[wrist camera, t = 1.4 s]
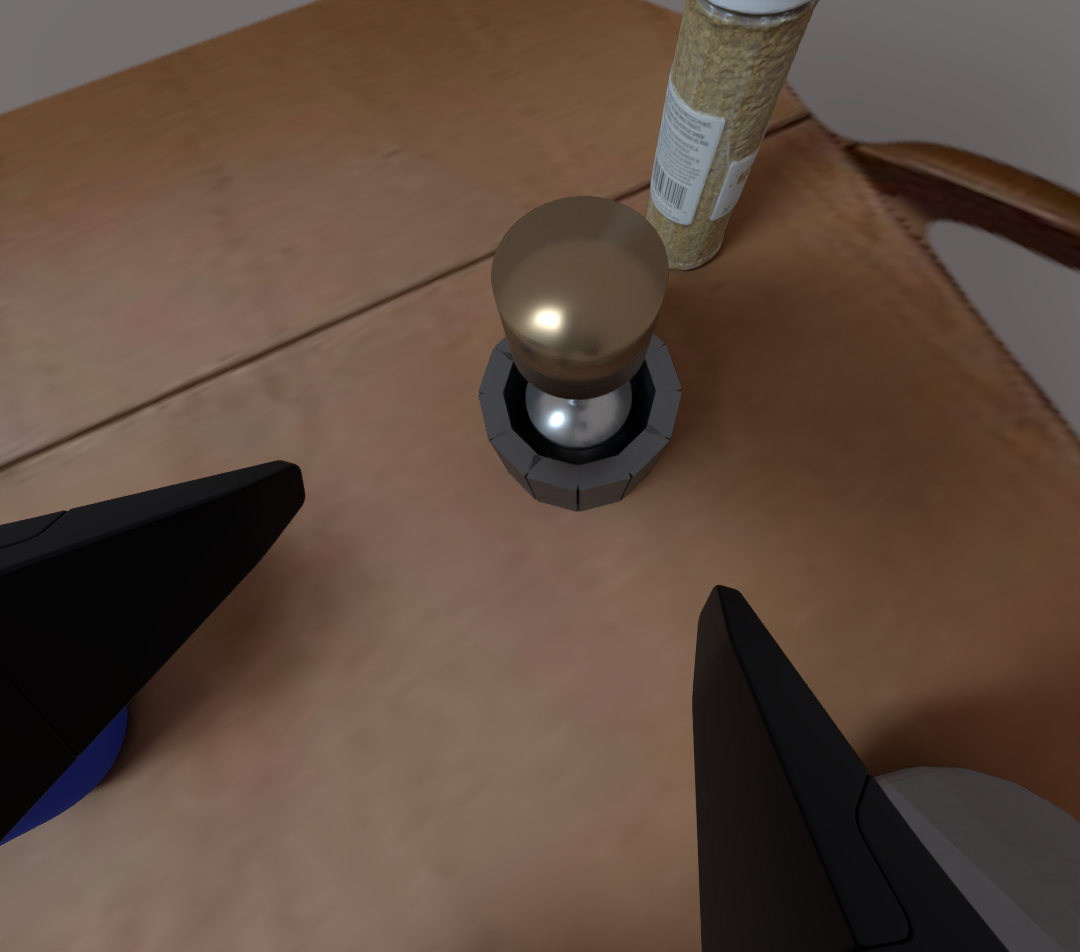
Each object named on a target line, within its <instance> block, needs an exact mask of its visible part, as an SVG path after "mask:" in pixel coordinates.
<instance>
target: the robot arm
mask: <svg viewBox="0 0 1080 952" xmlns="http://www.w3.org/2000/svg"><path fill="white" fill-rule="evenodd" d="M304 501H305V490H304V484H303V479H302V473H301V469H300V468H299V466H298V465H296V464H293V463H290V462H286V461H282V460H277V461H273V462H269V463H264V464H260V465H256V466H252V467H247V468H243V469H239V470H234V471H230V472H226V473H222V474H217V475H213V476H209V477H205V478H200V479H196V480H192V481H188V482H183V483H179V484H175V485H171V486H166V487H162V488H158V489H154V490H149V491H145V492H141V493H137V494H132V495H128V496H124V497H120V498H115V499H111V500H107V501H103V502H98V503H94V504H90V505H86V506H81V507H77V508H73V509H70V510H69V511H60V512H55V513H51V514H47V515H43V516H39V517H34V518H30V519H25V520H21V521H16V522H12V523H7V524H3V525H0V842H1V841H2V840H3V839H4V838H5V837H6V835H7V834H8V833H9V832H10V831H11V830H12V829H13V828H14V827H15V826H16V825H17V824H18V823H19V821H20V820H21V819H22V818H23V817H24V816H25V815H26V814H27V813H28V812H29V811H30V810H31V808H32V807H33V806H34V805H35V804H36V803H37V802H38V801H39V800H40V799H41V798H42V797H43V795H44V794H45V793H46V792H47V791H48V790H49V789H50V788H51V787H52V786H53V785H54V784H55V783H56V781H57V780H58V779H59V778H60V777H61V776H62V775H63V774H64V773H65V772H66V771H67V770H68V768H69V767H70V766H71V765H72V764H73V763H74V762H75V761H76V760H77V759H78V756H79V755H81V754H82V753H83V752H84V751H85V750H86V749H87V747H88V746H89V745H90V744H91V743H92V742H93V741H94V740H95V739H96V738H97V737H98V736H99V735H100V733H101V732H102V731H103V730H104V729H105V728H106V727H107V726H108V725H109V724H110V723H111V722H112V720H113V719H114V718H115V717H116V716H117V715H118V714H119V713H120V712H121V711H122V710H123V709H124V708H125V706H126V705H127V704H128V703H129V702H130V701H131V700H132V699H133V698H134V697H135V696H136V695H137V693H138V692H139V691H140V690H141V689H142V688H143V687H144V686H145V685H146V684H147V683H148V682H149V681H150V679H151V678H152V677H153V676H154V675H155V674H156V673H157V672H158V671H159V670H160V669H161V668H162V666H163V665H164V664H165V663H166V662H167V661H168V660H169V659H170V658H171V657H172V656H173V655H174V654H175V652H176V651H177V650H178V649H179V648H180V647H181V646H182V645H183V644H184V643H185V642H186V641H187V639H188V638H189V637H190V636H191V635H192V634H193V633H194V632H195V631H196V630H197V629H198V628H199V627H200V625H201V624H202V623H203V622H204V621H205V620H206V619H207V618H208V617H209V616H210V615H211V614H212V612H213V611H214V610H215V609H216V608H217V607H218V606H219V605H220V604H221V603H222V602H223V601H224V600H225V598H226V597H227V596H228V595H229V594H230V593H231V592H232V591H233V590H234V589H235V588H236V587H237V585H238V584H239V583H240V582H241V581H242V580H243V579H244V578H245V577H246V576H247V575H248V574H249V573H250V571H251V570H252V569H253V568H254V567H255V566H256V565H257V564H258V563H259V561H260V560H261V559H262V558H263V557H264V555H265V554H266V553H267V552H268V550H269V549H270V548H271V546H272V545H273V544H274V542H275V541H276V540H277V539H278V537H279V536H280V535H281V533H282V532H283V531H284V529H285V528H286V527H287V525H288V524H289V523H290V521H291V520H292V519H293V517H294V516H295V515H296V513H297V512H298V511H299V510H300V508H301V507H302V505H303V503H304ZM692 712H693V738H694V763H695V789H696V814H697V840H698V866H699V891H700V917H701V942H702V952H1010V951H1009V950H1008V949H1007V948H1006V947H1005V945H1004V944H1003V943H1002V942H1001V940H1000V939H999V938H998V937H997V936H996V934H995V933H994V932H993V931H992V929H991V928H990V927H989V926H988V925H987V923H986V922H985V921H984V920H983V918H982V917H981V916H980V915H979V913H978V912H977V911H976V910H975V909H974V907H973V906H972V905H971V904H970V902H969V901H968V900H967V899H966V898H965V896H964V895H963V894H962V893H961V891H960V890H959V889H958V888H957V886H956V885H955V884H954V883H953V881H952V880H951V879H950V877H949V876H948V875H947V874H946V872H945V871H944V870H943V869H942V867H941V866H940V865H939V864H938V862H937V861H936V860H935V859H934V857H933V856H932V855H931V854H930V852H929V851H928V850H927V848H926V847H925V846H924V845H923V843H922V842H921V841H920V839H919V838H918V837H917V835H916V834H915V833H914V831H913V830H912V829H911V827H910V826H909V825H908V823H907V822H906V821H905V819H904V818H903V817H902V815H901V814H900V813H899V811H898V810H897V809H896V807H895V806H894V805H893V803H892V802H891V800H890V799H889V798H888V796H887V795H886V794H885V792H884V791H883V789H882V788H881V787H880V785H879V784H878V782H877V781H876V780H875V778H874V777H873V776H872V775H868V769H867V767H866V766H865V765H864V763H863V762H862V761H861V759H860V758H859V756H858V755H857V754H856V752H855V751H854V749H853V748H852V747H851V745H850V744H849V742H848V741H847V740H846V738H845V737H844V736H843V734H842V733H841V731H840V730H839V729H838V727H837V726H836V724H835V723H834V722H833V720H832V719H831V717H830V716H829V715H828V713H827V712H826V711H825V709H824V708H823V706H822V705H821V704H820V702H819V701H818V699H817V698H816V697H815V695H814V694H813V693H812V691H811V690H810V688H809V687H808V686H807V684H806V683H805V681H804V680H803V679H802V677H801V676H800V674H799V673H798V672H797V670H796V669H795V668H794V666H793V665H792V663H791V662H790V661H789V659H788V658H787V656H786V655H785V654H784V652H783V651H782V649H781V648H780V647H779V645H778V644H777V643H776V641H775V640H774V638H773V637H772V636H771V634H770V633H769V631H768V630H767V629H766V627H765V626H764V625H763V623H762V622H761V620H760V619H759V618H758V616H757V615H756V613H755V612H754V611H753V609H752V608H751V606H750V605H749V604H748V602H747V601H746V600H745V598H744V597H743V595H742V594H741V593H740V592H739V591H738V590H736V589H733V588H729V587H726V586H722V585H716V586H715V587H714V588H713V589H712V591H711V593H710V595H709V597H708V599H707V601H706V603H705V605H704V607H703V609H702V611H701V614H700V617H699V621H698V631H697V643H696V655H695V668H694V680H693V695H692Z"/></svg>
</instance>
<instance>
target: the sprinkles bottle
mask: <svg viewBox="0 0 1080 952" xmlns="http://www.w3.org/2000/svg"><path fill="white" fill-rule="evenodd" d="M818 1H819V0H685V4H684V10H683V16H682V22H681V27H680V32H679V38H678V43H677V47H676V53H675V58H674V62H673V64H672V67H671V71H670V76H669V82H668V88H667V93H666V99H665V105H664V110H663V116H662V121H661V127H660V133H659V138H658V144H657V150H656V155H655V161H654V167H653V173H652V179H651V194H650V198H649V204H648V212H647V216H646V218H645V219H646V220H648V221H649V222H650V224H651V225H652V226H653V227H654V228H655V229H656V231H657V232H658V234H659V236H660V237H661V239H662V241H663V243H664V246H665V249H666V252H667V255H668V262H669V269H676V270H689V269H693V268H697V267H699V266H701V265H703V264H704V263H706V262H708V261H709V260H710V259H712V258H713V256H715V255H716V253H717V252H718V250H719V249H720V247H721V245H722V242H723V239H724V231H725V229H726V227H727V224H728V221H729V219H730V216H731V214H732V211H733V209H734V207H735V205H736V203H737V201H738V200H739V197H740V195H741V193H742V190H743V188H744V185H745V183H746V180H747V178H748V175H749V173H750V170H751V168H752V165H753V162H754V160H755V157H756V155H757V152H758V150H759V147H760V145H761V142H762V140H763V138H764V135H765V133H766V130H767V128H768V125H769V123H770V120H771V118H772V115H773V113H774V111H775V108H776V105H777V102H778V99H779V95H780V91H781V89H782V87H783V84H784V81H785V79H786V77H787V75H788V72H789V70H790V67H791V64H792V62H793V60H794V58H795V55H796V52H797V50H798V47H799V44H800V42H801V40H802V38H803V35H804V33H805V31H806V28H807V24H808V23H809V21H810V18H811V16H812V13H813V9H814V8H815V6H816V5H817V3H818Z"/></svg>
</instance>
